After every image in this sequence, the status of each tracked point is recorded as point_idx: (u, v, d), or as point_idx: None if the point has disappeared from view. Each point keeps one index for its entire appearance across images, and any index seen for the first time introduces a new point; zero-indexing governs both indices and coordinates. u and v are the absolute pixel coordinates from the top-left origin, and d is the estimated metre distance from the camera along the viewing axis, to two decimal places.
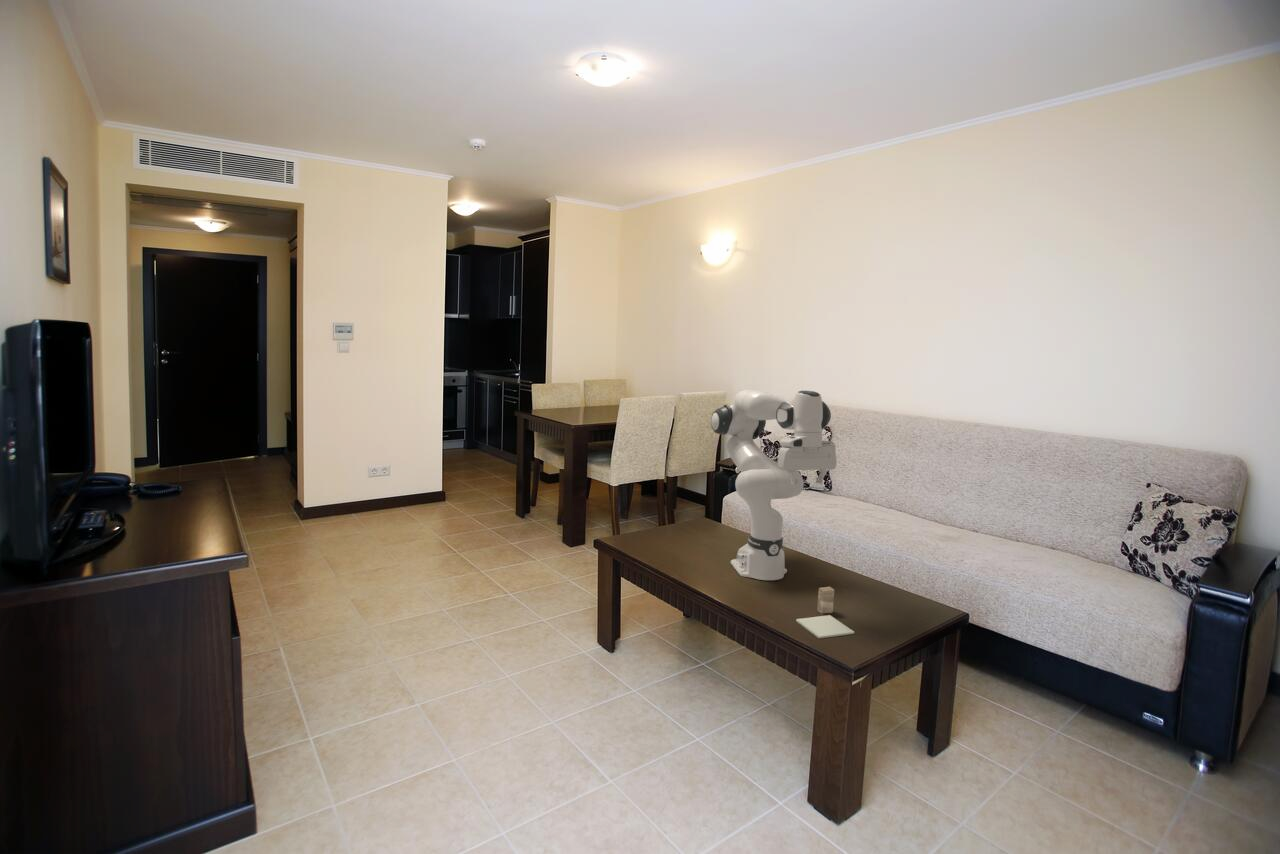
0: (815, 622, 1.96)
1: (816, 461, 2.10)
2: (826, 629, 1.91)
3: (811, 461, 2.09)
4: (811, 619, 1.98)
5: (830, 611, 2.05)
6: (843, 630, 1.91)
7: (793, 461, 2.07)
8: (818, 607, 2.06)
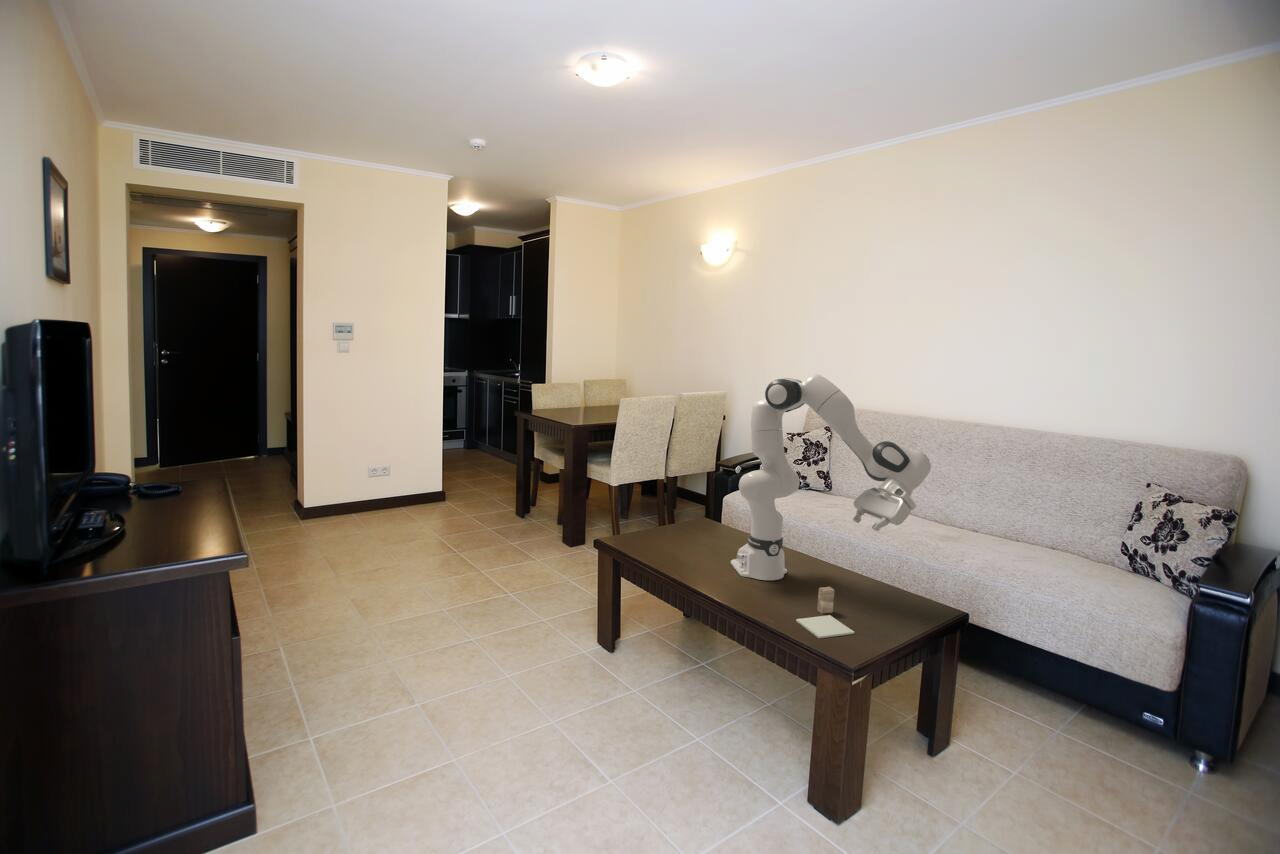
0: (815, 622, 1.96)
1: None
2: (826, 629, 1.91)
3: None
4: (811, 619, 1.98)
5: (830, 611, 2.05)
6: (843, 630, 1.91)
7: None
8: (818, 607, 2.06)
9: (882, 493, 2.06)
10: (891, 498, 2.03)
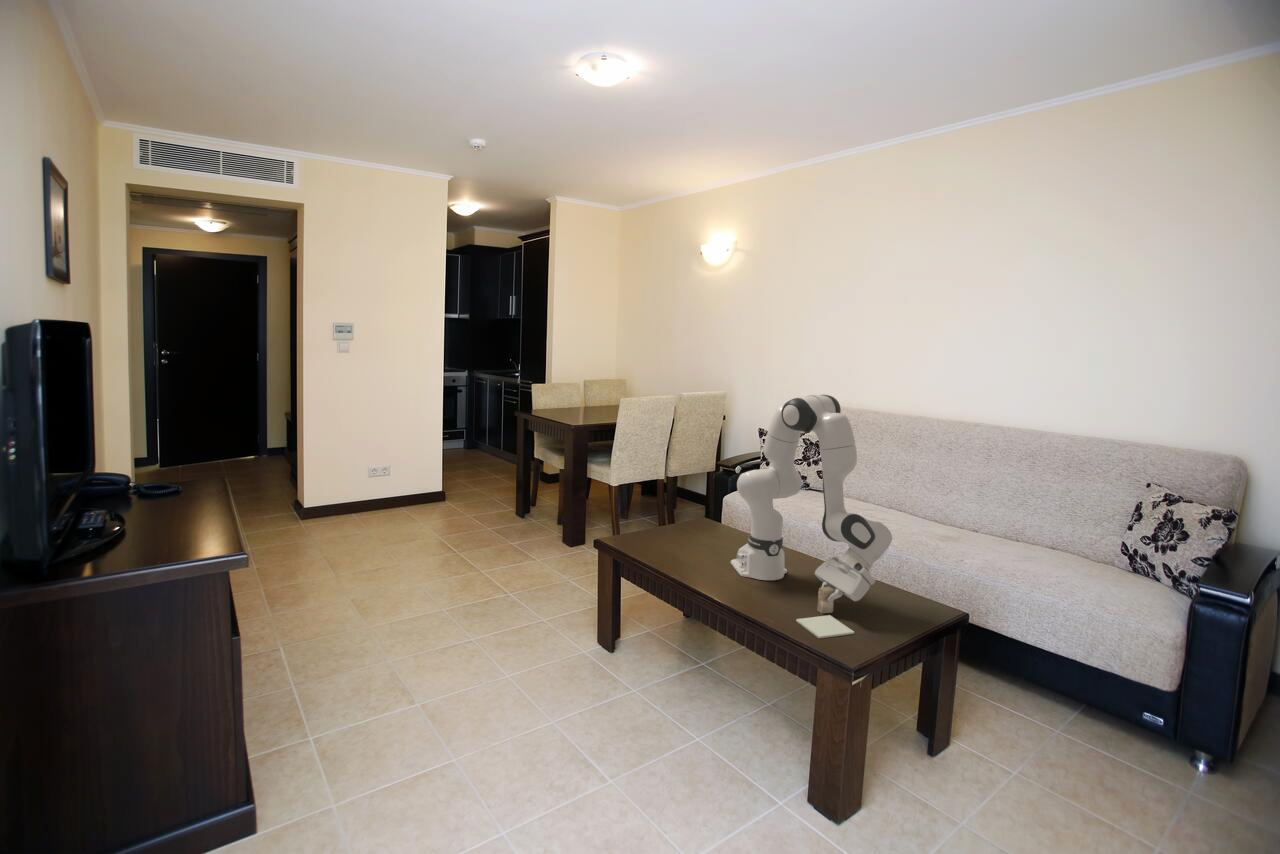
0: (815, 622, 1.96)
1: None
2: (826, 629, 1.91)
3: None
4: (811, 619, 1.98)
5: (830, 611, 2.05)
6: (843, 630, 1.91)
7: None
8: (818, 607, 2.06)
9: (842, 566, 2.05)
10: (850, 572, 2.02)
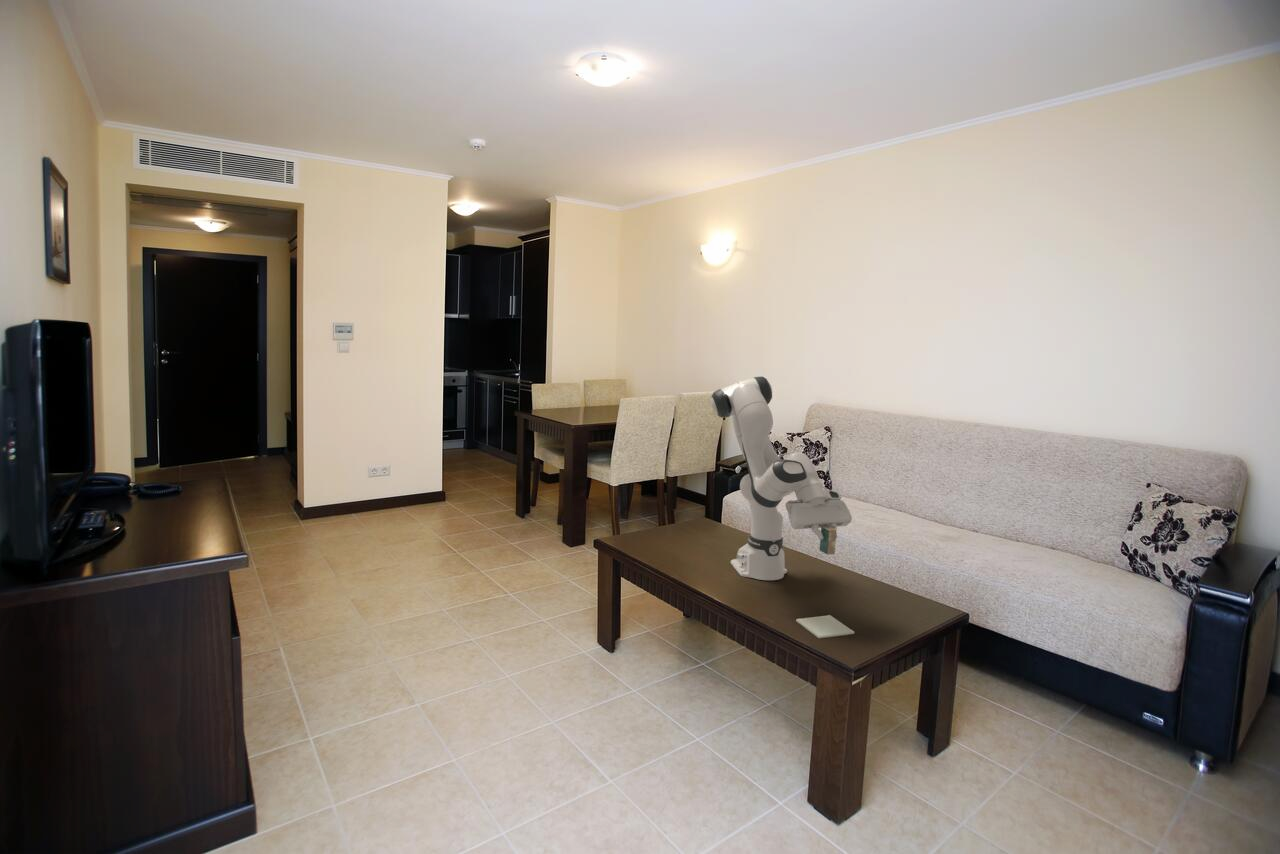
0: (815, 622, 1.96)
1: None
2: (826, 629, 1.91)
3: None
4: (811, 619, 1.98)
5: None
6: (843, 630, 1.91)
7: None
8: (829, 550, 1.95)
9: (820, 501, 2.01)
10: (831, 503, 2.02)
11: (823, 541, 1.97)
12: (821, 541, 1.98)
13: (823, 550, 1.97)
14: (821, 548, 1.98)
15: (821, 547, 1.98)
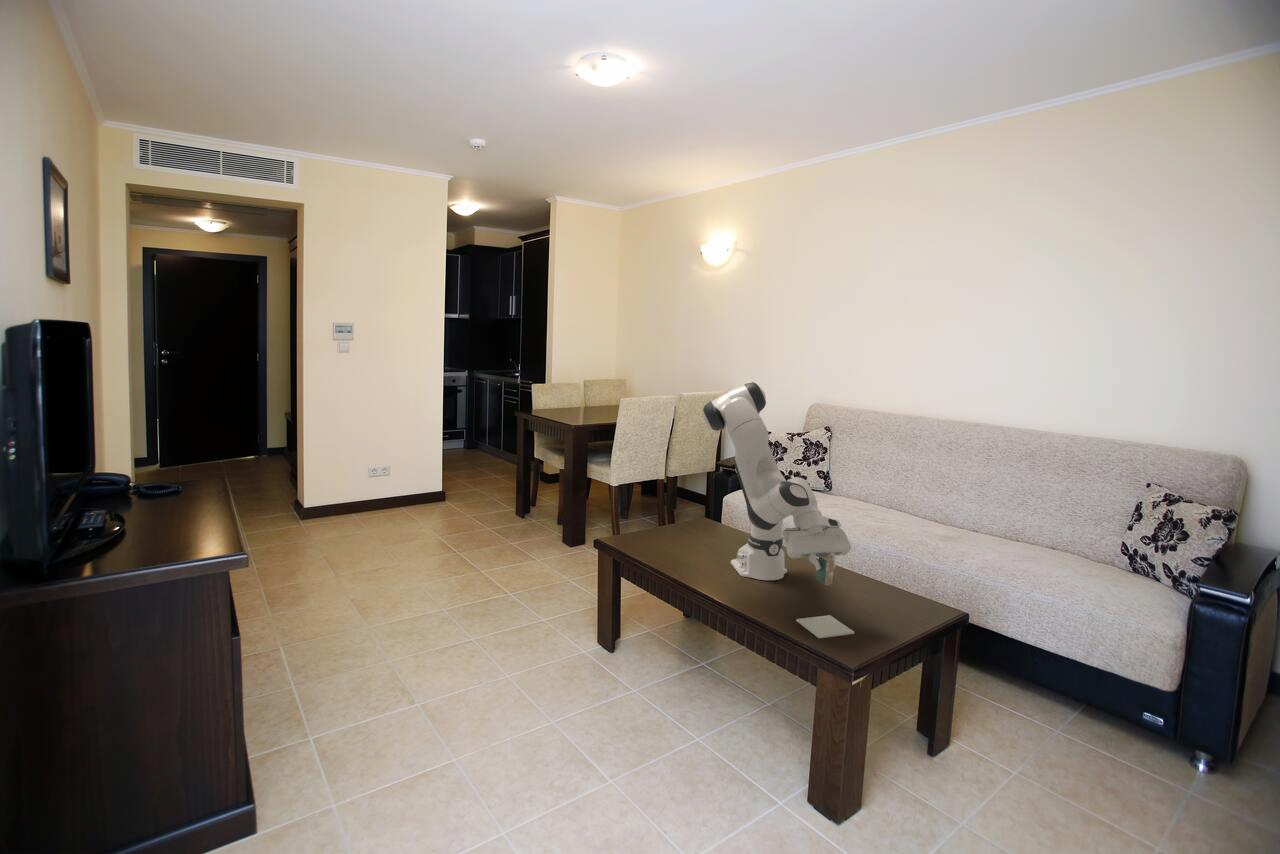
0: (815, 622, 1.96)
1: None
2: (826, 629, 1.91)
3: None
4: (811, 619, 1.98)
5: None
6: (843, 630, 1.91)
7: None
8: (826, 581, 1.89)
9: (819, 530, 1.95)
10: (829, 531, 1.96)
11: (821, 571, 1.91)
12: (818, 571, 1.92)
13: (820, 580, 1.91)
14: (818, 578, 1.92)
15: (818, 577, 1.92)
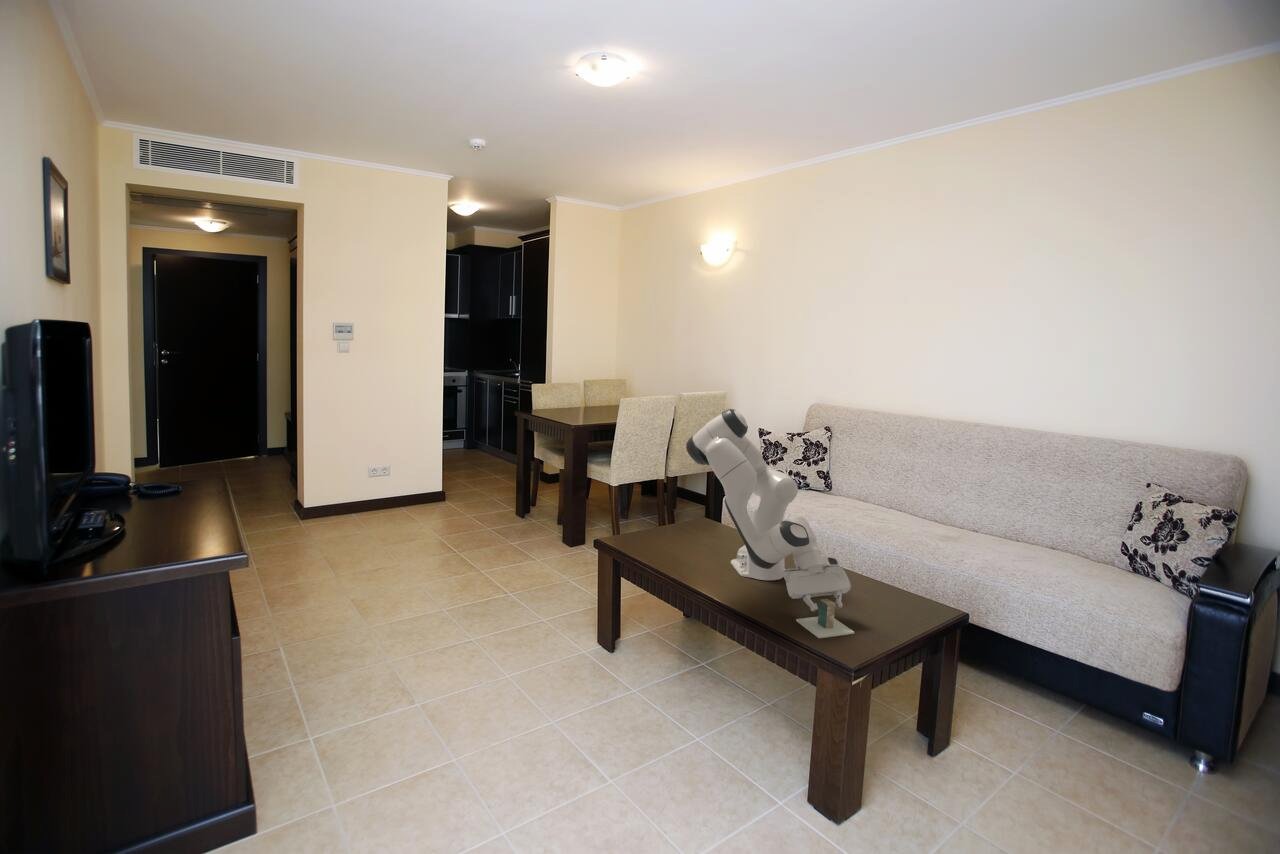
0: (815, 622, 1.96)
1: None
2: (826, 629, 1.91)
3: None
4: (811, 619, 1.98)
5: None
6: (843, 630, 1.91)
7: None
8: (827, 624, 1.92)
9: (819, 569, 1.97)
10: (829, 570, 1.98)
11: (822, 615, 1.93)
12: (819, 614, 1.94)
13: (821, 624, 1.93)
14: (819, 621, 1.94)
15: (819, 620, 1.94)
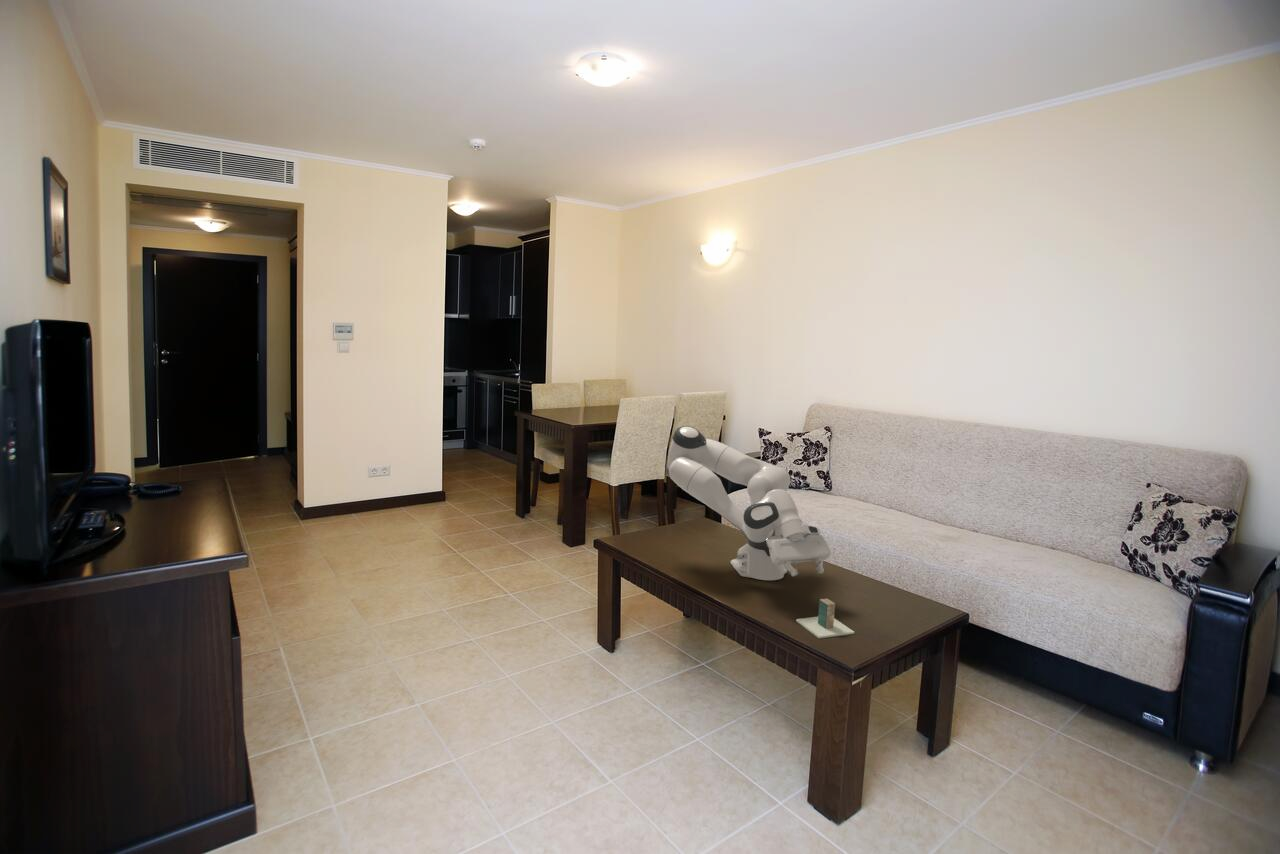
0: (815, 622, 1.96)
1: None
2: (826, 629, 1.91)
3: None
4: (811, 619, 1.98)
5: None
6: (843, 630, 1.91)
7: None
8: (827, 624, 1.92)
9: (800, 537, 2.07)
10: (810, 538, 2.09)
11: (822, 615, 1.93)
12: (819, 614, 1.94)
13: (821, 624, 1.93)
14: (819, 621, 1.94)
15: (819, 620, 1.94)
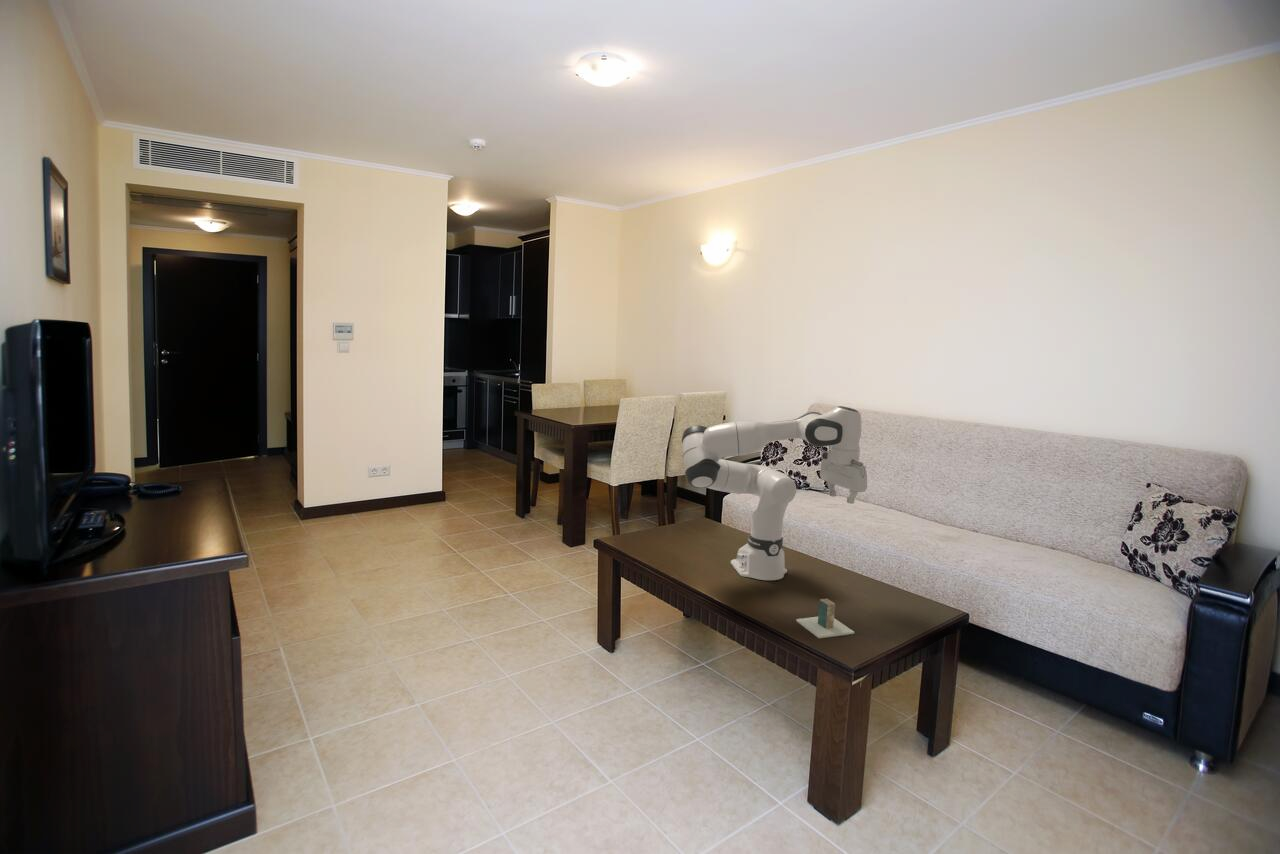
0: (815, 622, 1.96)
1: (842, 478, 2.07)
2: (826, 629, 1.91)
3: (838, 477, 2.08)
4: (811, 619, 1.98)
5: None
6: (843, 630, 1.91)
7: (826, 472, 2.15)
8: (827, 624, 1.92)
9: None
10: None
11: (822, 615, 1.93)
12: (819, 614, 1.94)
13: (821, 624, 1.93)
14: (819, 621, 1.94)
15: (819, 620, 1.94)
